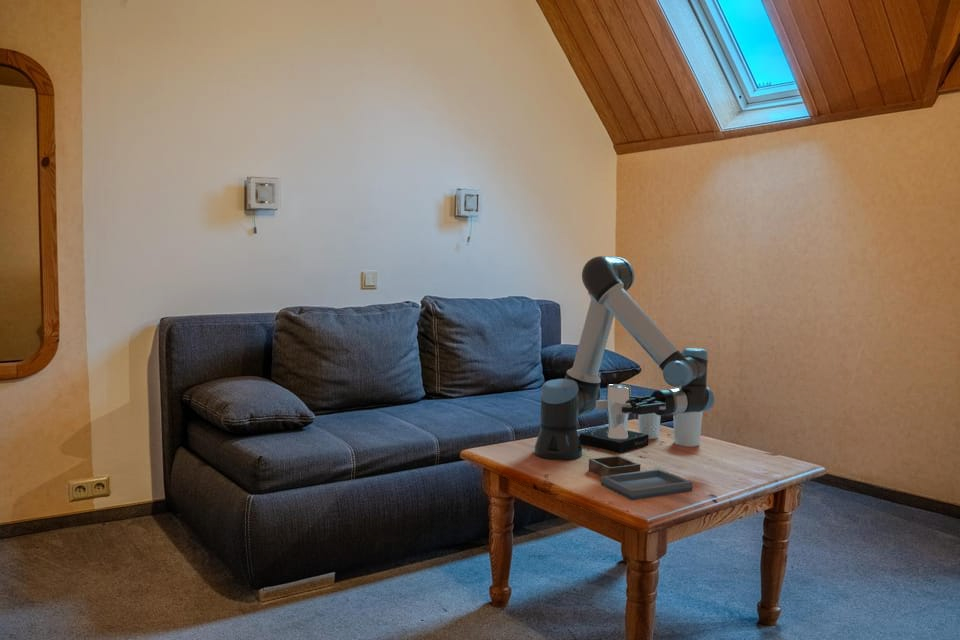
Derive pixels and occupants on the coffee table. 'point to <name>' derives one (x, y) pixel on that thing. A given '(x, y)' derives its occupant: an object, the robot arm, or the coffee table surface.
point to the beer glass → (618, 422)
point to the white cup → (649, 424)
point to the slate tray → (646, 484)
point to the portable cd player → (613, 440)
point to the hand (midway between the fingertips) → (603, 407)
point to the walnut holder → (612, 466)
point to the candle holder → (687, 428)
